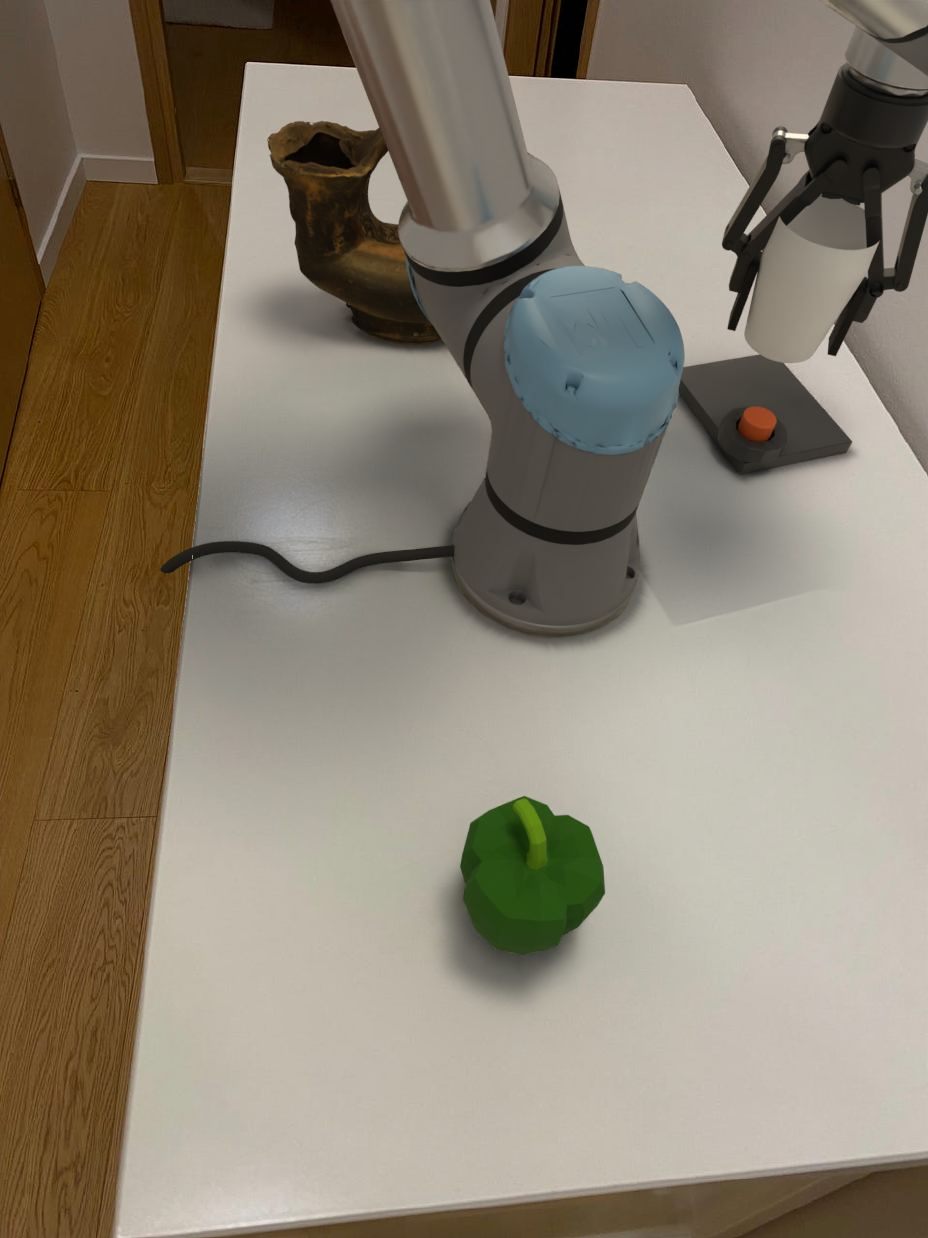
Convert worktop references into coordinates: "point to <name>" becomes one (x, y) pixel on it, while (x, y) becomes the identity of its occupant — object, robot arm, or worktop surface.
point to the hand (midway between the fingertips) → (782, 334)
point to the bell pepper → (529, 876)
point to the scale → (770, 385)
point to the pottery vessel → (347, 228)
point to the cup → (807, 279)
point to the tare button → (757, 424)
